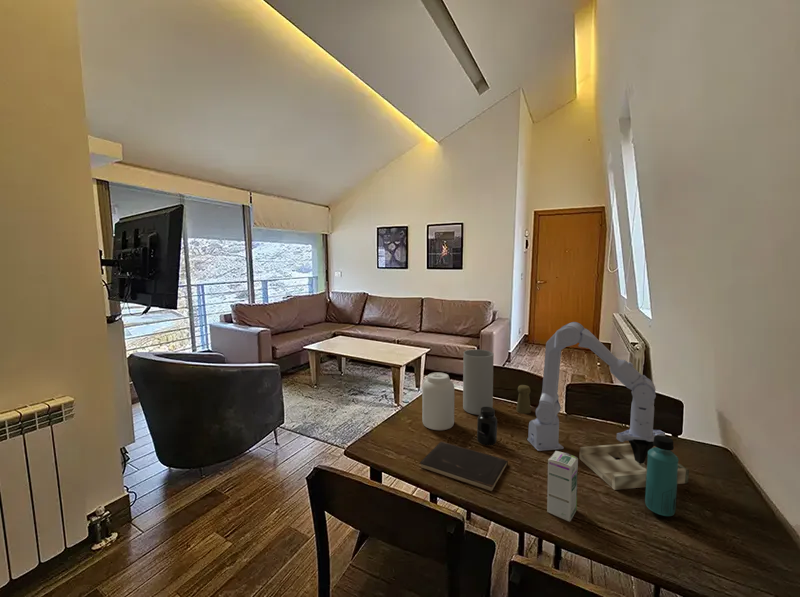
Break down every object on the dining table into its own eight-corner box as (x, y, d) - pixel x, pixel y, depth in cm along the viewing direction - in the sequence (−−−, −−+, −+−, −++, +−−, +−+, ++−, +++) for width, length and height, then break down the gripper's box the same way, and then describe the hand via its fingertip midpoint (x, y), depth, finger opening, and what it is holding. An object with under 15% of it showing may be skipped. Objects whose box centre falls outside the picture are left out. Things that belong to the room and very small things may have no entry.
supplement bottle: (475, 444, 126) (475, 411, 125) (478, 435, 132) (479, 404, 131) (495, 447, 123) (496, 414, 122) (497, 438, 130) (498, 406, 128)
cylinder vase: (486, 418, 146) (487, 358, 144) (458, 411, 153) (458, 354, 151) (496, 407, 157) (497, 351, 154) (469, 401, 164) (470, 348, 161)
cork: (528, 408, 156) (529, 383, 155) (532, 413, 150) (533, 388, 149) (514, 407, 157) (515, 383, 156) (517, 413, 151) (518, 388, 150)
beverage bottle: (677, 526, 86) (683, 447, 84) (643, 516, 90) (648, 440, 88) (673, 510, 92) (679, 436, 90) (642, 501, 95) (647, 429, 93)
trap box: (614, 489, 100) (615, 476, 100) (579, 458, 116) (579, 447, 116) (687, 482, 103) (689, 469, 102) (643, 453, 119) (644, 442, 118)
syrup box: (570, 522, 88) (572, 467, 86) (545, 512, 92) (547, 458, 90) (576, 510, 92) (579, 457, 91) (553, 500, 96) (555, 449, 94)
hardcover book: (492, 494, 100) (492, 486, 100) (419, 469, 112) (419, 462, 112) (507, 466, 113) (507, 459, 113) (441, 446, 125) (441, 440, 125)
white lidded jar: (416, 424, 141) (415, 375, 139) (434, 414, 151) (434, 368, 148) (442, 434, 133) (442, 382, 131) (460, 422, 142) (460, 374, 140)
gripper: (629, 426, 103) (627, 471, 105) (675, 423, 105) (671, 467, 106) (612, 416, 110) (610, 458, 112) (655, 413, 112) (652, 454, 113)
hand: (639, 461), depth 109 cm, fingers closed
